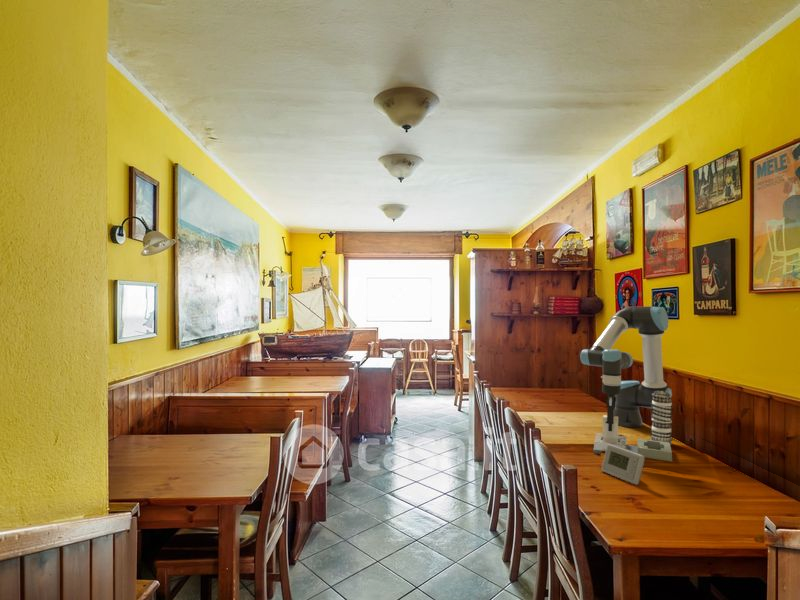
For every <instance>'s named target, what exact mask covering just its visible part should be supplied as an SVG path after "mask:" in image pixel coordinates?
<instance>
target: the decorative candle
mask: <svg viewBox="0 0 800 600" xmlns="http://www.w3.org/2000/svg"><path fill="white" fill-rule="evenodd" d="M652 395H653V400H652V403H651V405H652V406H651V408H650V419H651V421H652V422H651V423H652V424H651V429H650V431H651V432H650V435H651V436H650V440H653V441H661V442H668V443H670V446H671V445H672V442H673V441H672V440H673V439H672V437H673V436H672V435H673V434H672V433H673V432H672V423H673V420H672V419H673V415H674V414H673V413H672V411H674V408H673V407H674V405H673V403H672V398H671V397H673V395H672V396H671V395H670V394H669V393H668V392H665V391H655V392H654V393H653V394H652Z"/></svg>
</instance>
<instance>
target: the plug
mask: <svg viewBox="0 0 800 600" xmlns="http://www.w3.org/2000/svg"><path fill="white" fill-rule="evenodd" d="M605 422H607V414H603V415H602V434H603V440H604V442H607V443H614V444H616V442H618V436H619V425H618V416H614V419H613V422H614V439H611V438H607V423H605Z"/></svg>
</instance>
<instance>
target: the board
mask: <svg viewBox="0 0 800 600" xmlns="http://www.w3.org/2000/svg"><path fill="white" fill-rule="evenodd" d="M626 449H627V450H630V451H633V452H636V453H638V445H633V444H627V443H626ZM592 451H593V452H592V453H593V454H597V455H598V454H599V455H602V453H603V451H600V450H594V448H593V449H592ZM604 452H606V451H604ZM645 459H648V458H647V457H645ZM650 459H651V460H654V459H653V458H650ZM657 460H659V461H661V460H660V459H657ZM664 461H666V462H668V461H667V460H664ZM670 462H673V460H672V461H670Z"/></svg>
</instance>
